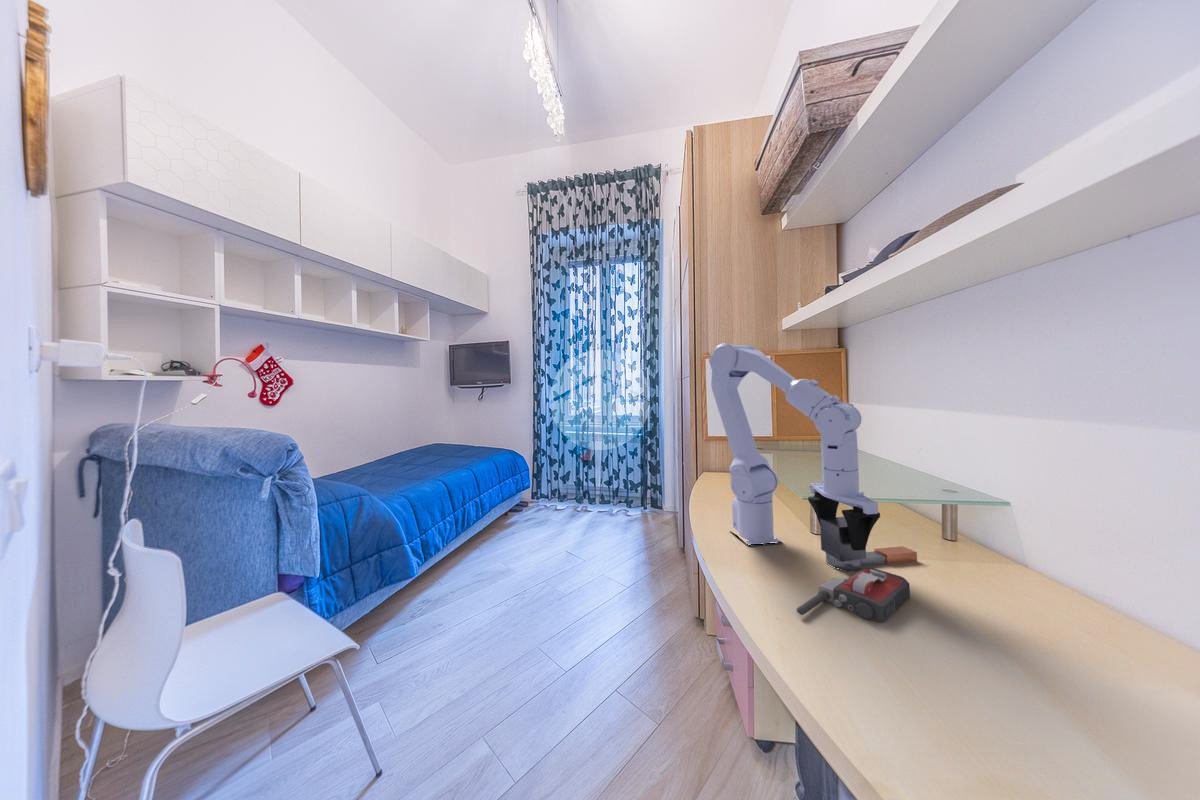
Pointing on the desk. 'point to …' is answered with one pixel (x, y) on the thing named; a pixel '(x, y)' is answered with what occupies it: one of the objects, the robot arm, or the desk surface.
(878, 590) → the walkie-talkie
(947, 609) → the desk surface
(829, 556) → the ratchet
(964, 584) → the desk surface
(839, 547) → the dark grey block
